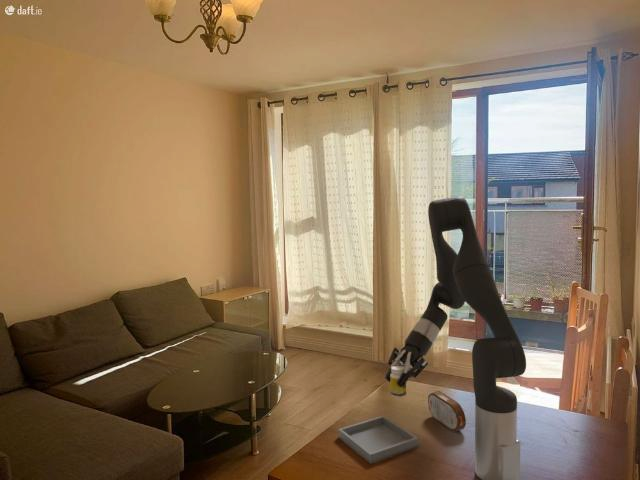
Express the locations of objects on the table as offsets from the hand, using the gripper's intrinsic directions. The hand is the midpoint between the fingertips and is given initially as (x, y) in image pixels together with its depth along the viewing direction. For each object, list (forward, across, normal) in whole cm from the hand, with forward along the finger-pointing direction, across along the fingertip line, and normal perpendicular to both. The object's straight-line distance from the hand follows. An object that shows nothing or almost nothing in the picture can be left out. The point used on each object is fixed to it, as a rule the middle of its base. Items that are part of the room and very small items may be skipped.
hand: (393, 382), depth 142 cm
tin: (+1, +11, +16) cm, 19 cm away
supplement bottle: (+2, 0, +4) cm, 5 cm away
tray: (+17, +8, -1) cm, 19 cm away
